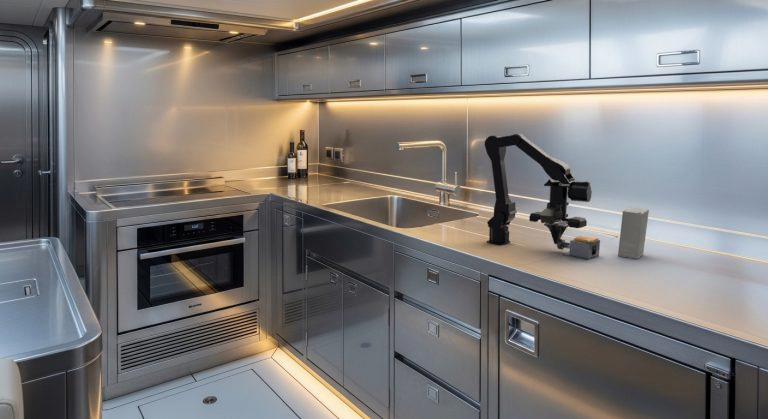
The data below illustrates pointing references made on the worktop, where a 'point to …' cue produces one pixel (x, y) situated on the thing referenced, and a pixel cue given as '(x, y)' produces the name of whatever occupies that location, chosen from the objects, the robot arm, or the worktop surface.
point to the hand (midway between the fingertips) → (556, 244)
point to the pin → (562, 244)
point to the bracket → (583, 249)
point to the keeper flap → (586, 239)
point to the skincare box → (633, 232)
